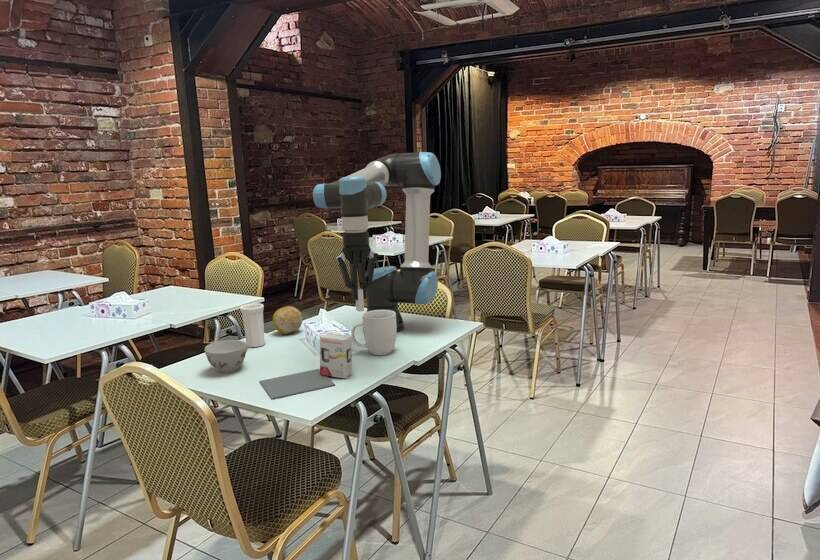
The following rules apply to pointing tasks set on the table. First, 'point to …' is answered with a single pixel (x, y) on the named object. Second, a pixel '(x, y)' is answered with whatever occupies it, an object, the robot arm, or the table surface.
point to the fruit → (287, 319)
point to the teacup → (226, 354)
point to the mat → (296, 384)
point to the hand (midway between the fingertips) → (360, 310)
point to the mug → (378, 331)
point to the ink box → (336, 355)
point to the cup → (253, 324)
